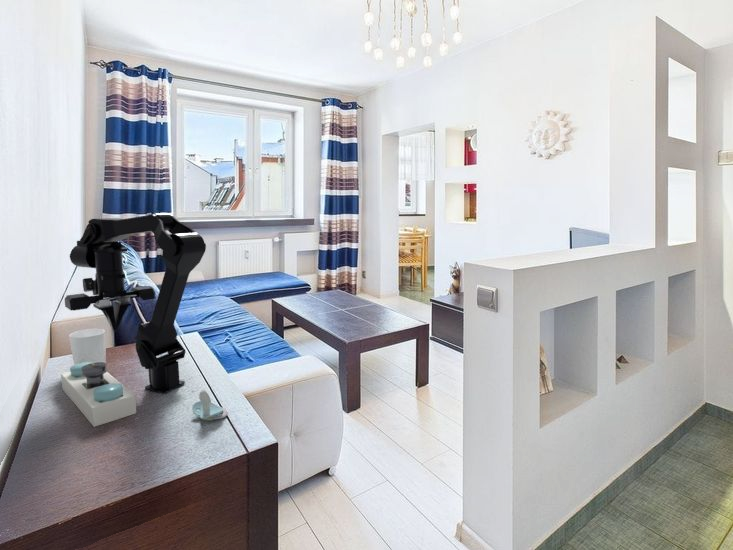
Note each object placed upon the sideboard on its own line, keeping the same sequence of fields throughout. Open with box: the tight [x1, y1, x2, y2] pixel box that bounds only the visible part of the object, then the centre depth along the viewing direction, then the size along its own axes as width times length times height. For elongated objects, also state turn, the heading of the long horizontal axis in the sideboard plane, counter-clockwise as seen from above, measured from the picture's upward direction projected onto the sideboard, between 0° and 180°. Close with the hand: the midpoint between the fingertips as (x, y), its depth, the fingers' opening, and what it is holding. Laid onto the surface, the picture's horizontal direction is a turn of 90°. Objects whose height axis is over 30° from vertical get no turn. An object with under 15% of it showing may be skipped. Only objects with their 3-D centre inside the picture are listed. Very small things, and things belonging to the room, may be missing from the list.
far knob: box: [69, 362, 95, 378], centre depth 100 cm, size 5×5×5 cm
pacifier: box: [191, 389, 228, 421], centre depth 88 cm, size 7×6×6 cm
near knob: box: [93, 383, 123, 403], centre depth 88 cm, size 5×5×5 cm
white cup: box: [68, 328, 107, 365], centre depth 112 cm, size 8×8×10 cm
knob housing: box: [60, 370, 137, 428], centre depth 94 cm, size 25×8×4 cm, turn 47°
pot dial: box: [81, 362, 108, 389], centre depth 94 cm, size 5×5×5 cm
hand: (115, 330), depth 106 cm, fingers closed
